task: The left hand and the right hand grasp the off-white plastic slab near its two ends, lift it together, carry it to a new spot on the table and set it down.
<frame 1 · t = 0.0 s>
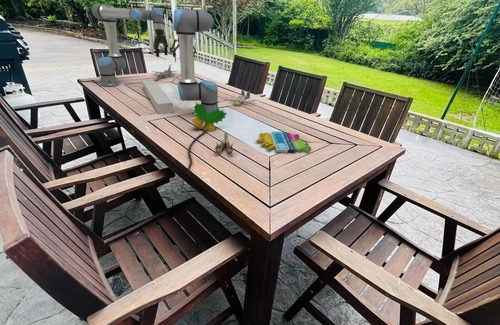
left hand: (162, 56, 231), 28 cm above the table, tool pointing down, fingers open, 13 cm apart
right hand: (184, 61, 211), 28 cm above the table, tool pointing down, fingers open, 13 cm apart
jawbone: (224, 151, 138), on the table
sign: (281, 143, 152), on the table
airplane: (165, 77, 283), on the table
toy: (241, 101, 221), on the table
slab: (156, 98, 212), on the table
ornament: (209, 128, 165), on the table
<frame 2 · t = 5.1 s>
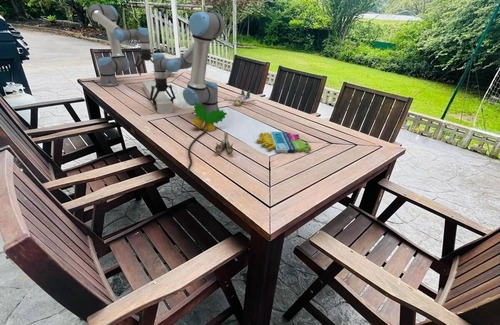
left hand: (148, 75, 228), 13 cm above the table, tool pointing down, fingers open, 13 cm apart
right hand: (163, 108, 190), 1 cm above the table, tool pointing down, fingers closed on slab, 10 cm apart
slab: (156, 98, 212), on the table, touching right hand
everything else where it was.
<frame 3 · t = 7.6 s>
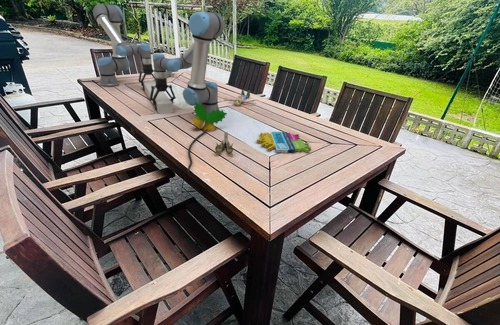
left hand: (150, 89, 234), 1 cm above the table, tool pointing down, fingers closed on slab, 10 cm apart
right hand: (163, 108, 190), 1 cm above the table, tool pointing down, fingers closed on slab, 10 cm apart
slab: (156, 98, 212), on the table, touching right hand, left hand
everything else where it was.
when the left hand's fingers open (1 cm above the table, at t = 14.3 s): slab stays where it is, on the table.
when the right hand's fingers open (2 cm above the table, at t = 14.4 s): slab stays where it is, on the table.
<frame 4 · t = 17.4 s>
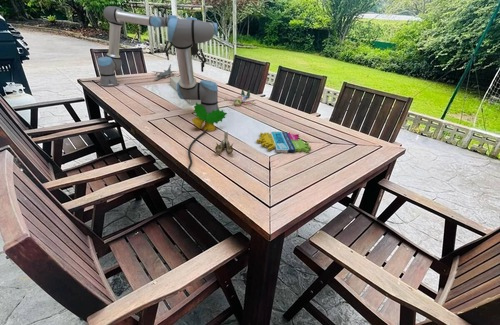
left hand: (175, 60, 244), 24 cm above the table, tool pointing down, fingers open, 13 cm apart
right hand: (193, 71, 200), 24 cm above the table, tool pointing down, fingers open, 13 cm apart
slab: (185, 92, 234), on the table
everything else where it was.
at the end: slab inside the target area (0.2 cm from its centre), on the table; slab tilted 0°; slab never tilted more than 1° during the clip; both hands held the slab at the same time; the left hand is holding nothing; the right hand is holding nothing; slab at rest at the end (0.0 cm/s) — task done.
